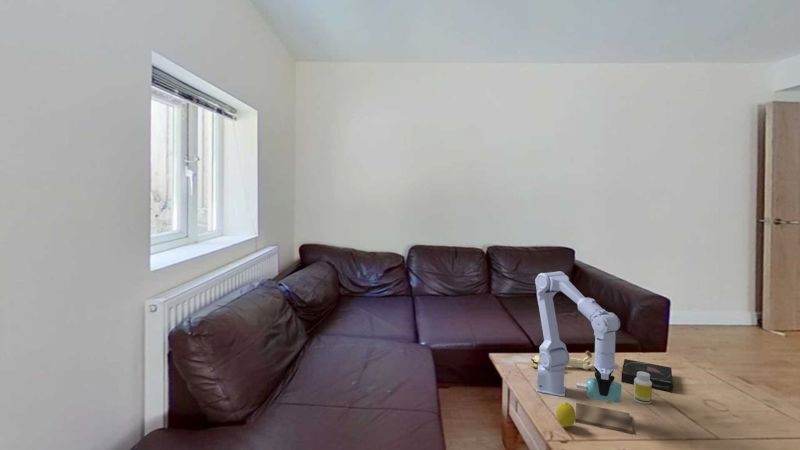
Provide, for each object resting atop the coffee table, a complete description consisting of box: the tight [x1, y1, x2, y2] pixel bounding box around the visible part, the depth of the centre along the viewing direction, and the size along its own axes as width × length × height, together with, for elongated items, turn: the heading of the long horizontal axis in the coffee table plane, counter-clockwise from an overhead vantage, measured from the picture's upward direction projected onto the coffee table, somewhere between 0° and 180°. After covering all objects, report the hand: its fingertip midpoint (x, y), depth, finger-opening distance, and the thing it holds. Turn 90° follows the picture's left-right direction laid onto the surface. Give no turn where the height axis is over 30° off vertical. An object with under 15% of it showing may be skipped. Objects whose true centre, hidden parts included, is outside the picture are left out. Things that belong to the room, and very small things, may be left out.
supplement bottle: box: [633, 371, 653, 405], centre depth 143 cm, size 5×5×10 cm
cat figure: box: [529, 350, 595, 372], centre depth 170 cm, size 10×9×25 cm
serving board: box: [574, 402, 634, 435], centre depth 131 cm, size 16×11×1 cm
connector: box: [576, 377, 622, 404], centre depth 131 cm, size 13×4×5 cm, turn 65°
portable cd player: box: [620, 358, 674, 394], centre depth 160 cm, size 16×17×4 cm
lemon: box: [555, 401, 576, 429], centre depth 127 cm, size 6×6×8 cm
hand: (603, 392), depth 131 cm, fingers closed on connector, 4 cm apart
